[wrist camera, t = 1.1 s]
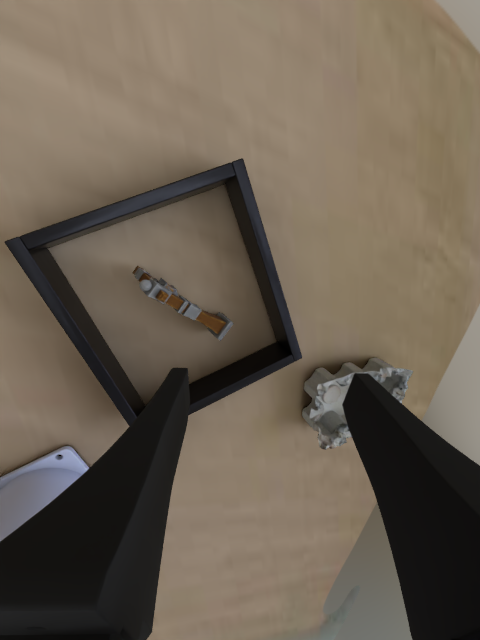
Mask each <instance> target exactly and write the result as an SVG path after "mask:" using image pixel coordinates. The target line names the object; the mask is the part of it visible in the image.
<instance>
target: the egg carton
mask: <svg viewBox="0 0 480 640" xmlns="http://www.w3.org/2000/svg"><path fill="white" fill-rule="evenodd" d="M354 373H368V374H369V375H371V376H372V377H373V378H374V379H375V380H376V381H377V382H378V383H380V384H381V385H382V386H383V387H384V388H385V389H386V390H387V391H388V392H389V393H390V394H392V395H393V396H394V397H395V398H396V399H397V400H398V401H399V402H400V403H401V404H402V402H401V401H402V399H404V397H405V391H406V390H407V389H408V386H407V381H408V379H409V378H410V376H411V375H412V373H413V371H412V370H407V369H400V368H394V367H393V366H391V365H390V364H388V363H386V362H384V361H383V360H381V359H378V358H371V359H369V361H368V363H367V364H366V365H365V367H364V368H363V369H360V368H359V367H357V366H356V365H354V364H353V363H351V362H347V363H344V364H343V365H342V368H341V370H339V371H338V372H337V373H336V374H334V375H332V374H331V373H330V372H328V371H327V370H326V369H325V368H318V369H316V370H315V372H314V373H313V375H312V376H311V378H309V379H308V380H307V381H306V382H305V385H304V390H305V391H306V392H307V393H308V394H309V395H310V396H311V397H312V402H311V403H310V405H309V406H308V407H306V408H304V409H303V413H302V417H303V418H304V419H305V420H306V421H307V423H308V424H309V425H310V426H311V427H312V428H313V429H314V430H315V431H318V432H319V434H318V440H319V446H320V447H321V448H322V449H325V450H326V449H327V448H331V449H332V448H335V447H336V446H341V445H342V444H344V443H347V441H346V438H349V437H352V436H351V433H350V431H349V428H348V425H347V421H346V418H345V414H344V410H343V406H342V404H343V401H344V398H345V396H346V393H347V391H348V388H349V386H350V383H351V381H352V378H353V376H354Z"/></svg>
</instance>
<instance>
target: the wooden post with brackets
mask: <svg viewBox="0 0 480 640" xmlns="http://www.w3.org/2000/svg"><path fill="white" fill-rule="evenodd" d="M133 274H134V275H135V278H136V279H137V280H138V281H140V288H141V290H142V291H143V292H144V293H145V294H146V295H147V296H148V297H152V298H153V299H155V300H157V301H159V302H161V303H162V304H163V305H164V304H165V303H166V304H168V305H170V306H172V307H173V308H174V309H175V310H176V311H177V312H178V313H180V314H182V315H183V316H187V317H189V318H191V319H192V320H194V321H195V319H196V320H198V321H199V322H201V323H203V324H204V325H206V326H207V327H208V328H207V329H208V330H209V331H210V332H211V333H212V334H213V335H214V336H215V337H216V338H217V339H219V340H220V341H221V340H222V338H223V337H224V336H225V334H226V333H227V332H228V330H229V329H230V328H231V326H232V325H233V322H232V321H230V320H229V319H228V318H227V317H226V316H225V315H224V314H222V313H220V312H219V313H218V314H217V315H213V314H210V313H208V312H205V311H203V310H201V309H200V308H199V307H198V306H197V305H195V304H192V303H191V302H189V301H188V300H187V299H186V298H184V297H182V296H179V297H178V296H177V295H178V293H177V290H176V289H175V288H174V287H173V286H172V285H168V284H167V283H166V282H165V281H164V280H163V279H162V278H161V279H160V280H159V281H157V280H156V279H154V280H153V279H152V278H151V277H152V276H151V275H150V274H149V273H148V272H146V271H144V269H142V268H140V267H139V266H137V267H136V268H135V270H134V271H133Z"/></svg>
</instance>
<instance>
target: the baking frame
mask: <svg viewBox="0 0 480 640" xmlns="http://www.w3.org/2000/svg"><path fill="white" fill-rule="evenodd" d="M224 184H225V185H226V188H227V191H228V194H229V197H230V200H231V203H232V206H233V209H234V212H235V215H236V218H237V221H238V224H239V227H240V230H241V233H242V236H243V239H244V242H245V245H246V248H247V251H248V254H249V258H250V261H251V264H252V267H253V270H254V273H255V276H256V279H257V282H258V285H259V288H260V291H261V294H262V297H263V300H264V303H265V306H266V309H267V312H268V315H269V318H270V321H271V324H272V327H273V330H274V333H275V336H276V339H277V342H276V343H274V344H272V345H270V346H268V347H265V348H263V349H261V350H259V351H257V352H255V353H253V354H251V355H249V356H247V357H245V358H243V359H241V360H239V361H237V362H234V363H232V364H230V365H228V366H226V367H224V368H222V369H220V370H218V371H216V372H214V373H212V374H210V375H208V376H206V377H203V378H201V379H199V380H197V381H195V382H193V383H191V384H189V392H190V406H189V414H188V415H190V414H192V413H194V412H196V411H198V410H200V409H202V408H204V407H206V406H208V405H210V404H212V403H214V402H216V401H218V400H220V399H222V398H224V397H226V396H228V395H230V394H232V393H234V392H236V391H238V390H240V389H242V388H244V387H246V386H248V385H249V384H251V383H253V382H255V381H257V380H259V379H261V378H263V377H265V376H267V375H269V374H271V373H273V372H275V371H277V370H279V369H281V368H283V367H285V366H287V365H289V364H291V363H293V362H294V361H297V360H299V359H301V358H302V355H301V352H300V348H299V345H298V342H297V338H296V335H295V332H294V328H293V325H292V321H291V318H290V315H289V311H288V308H287V305H286V301H285V298H284V295H283V291H282V288H281V285H280V281H279V278H278V274H277V271H276V268H275V264H274V261H273V258H272V254H271V251H270V248H269V244H268V241H267V238H266V234H265V231H264V227H263V224H262V221H261V217H260V214H259V211H258V207H257V204H256V201H255V197H254V194H253V191H252V187H251V184H250V180H249V177H248V174H247V170H246V167H245V164H244V160H243V159H239V160H236V161H233V162H232V163H228V164H225V165H222V166H219V167H216V168H213V169H210V170H208V171H205V172H202V173H199V174H196V175H193V176H190V177H188V178H185V179H182V180H179V181H176V182H173V183H170V184H167V185H165V186H162V187H159V188H156V189H153V190H150V191H147V192H145V193H142V194H139V195H136V196H133V197H130V198H127V199H125V200H122V201H119V202H116V203H113V204H110V205H107V206H105V207H102V208H99V209H96V210H93V211H90V212H87V213H85V214H82V215H79V216H76V217H73V218H70V219H67V220H65V221H62V222H59V223H56V224H53V225H50V226H47V227H45V228H42V229H39V230H36V231H33V232H30V233H27V234H25V235H22V236H20V237H16V238H13V239H10V240H7V241H5V244H6V245H7V247H8V248H9V250H10V251H11V253H12V254H13V255H14V257H15V258H16V260H17V261H18V263H19V264H20V266H21V267H22V269H23V270H24V272H25V273H26V275H27V276H28V278H29V279H30V281H31V282H32V283H33V285H34V286H35V288H36V289H37V291H38V292H39V294H40V295H41V297H42V298H43V300H44V301H45V303H46V304H47V306H48V307H49V308H50V310H51V311H52V313H53V314H54V316H55V317H56V319H57V320H58V322H59V323H60V325H61V326H62V328H63V329H64V331H65V332H66V334H67V335H68V336H69V338H70V339H71V341H72V342H73V344H74V345H75V347H76V348H77V350H78V351H79V353H80V354H81V356H82V357H83V359H84V360H85V361H86V363H87V364H88V366H89V367H90V369H91V370H92V372H93V373H94V375H95V376H96V378H97V379H98V381H99V382H100V384H101V385H102V387H103V388H104V389H105V391H106V392H107V394H108V395H109V397H110V398H111V400H112V401H113V403H114V404H115V406H116V407H117V409H118V410H119V412H120V413H121V414H122V416H123V417H124V419H125V420H126V422H127V423H128V425H129V426H130V425H131V424H132V423H133V422H134V421H135V419H136V418H137V417H138V416H139V415H140V413H141V412H142V411H143V410H144V408H145V407H146V406H147V405H146V406H145V404H144V403H143V401H142V400H141V398H140V396H139V395H138V393H137V392H136V390H135V388H134V387H133V385H132V383H131V382H130V380H129V379H128V377H127V375H126V374H125V372H124V371H123V369H122V367H121V366H120V364H119V363H118V361H117V359H116V358H115V356H114V355H113V353H112V351H111V350H110V348H109V347H108V345H107V343H106V342H105V340H104V339H103V337H102V335H101V334H100V332H99V330H98V329H97V327H96V326H95V324H94V322H93V321H92V319H91V318H90V316H89V314H88V313H87V311H86V310H85V308H84V306H83V305H82V303H81V302H80V300H79V298H78V297H77V295H76V294H75V292H74V290H73V289H72V287H71V286H70V284H69V282H68V281H67V279H66V277H65V276H64V274H63V273H62V271H61V269H60V268H59V266H58V265H57V263H56V261H55V260H54V258H53V257H52V255H51V253H50V252H49V250H48V249H47V248H50V247H53V246H55V245H58V244H61V243H64V242H66V241H69V240H72V239H75V238H77V237H80V236H83V235H86V234H89V233H91V232H94V231H97V230H100V229H102V228H105V227H108V226H111V225H113V224H116V223H119V222H122V221H124V220H127V219H130V218H133V217H135V216H138V215H141V214H144V213H146V212H149V211H152V210H155V209H157V208H160V207H163V206H166V205H168V204H171V203H174V202H177V201H179V200H182V199H185V198H188V197H190V196H193V195H196V194H199V193H201V192H204V191H207V190H210V189H213V188H215V187H218V186H221V185H224Z"/></svg>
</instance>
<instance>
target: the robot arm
mask: <svg viewBox="0 0 480 640" xmlns="http://www.w3.org/2000/svg"><path fill="white" fill-rule="evenodd" d="M189 406H190V392H189V378H188V368H172V369H171V370H170V372H169V374H168V375H167V377H166V379H165V380H164V382H163V383H162V385H161V386H160V388H159V389H158V391H157V392H156V393H155V395H154V396H153V398H152V399H151V400H150V402H149V403H148V404H147V406H146V407H145V408H144V410H143V411H142V412H141V413H140V415H139V416H138V417H137V418H136V419H135V421H134V422H133V423H132V424H131V425H130V427H129V428H128V429H127V430H126V431H125V432H124V434H123V435H122V436H121V437H120V438H119V439H118V440H117V441H116V442H115V443H114V444H113V445H112V446H111V447H110V449H109V450H108V451H107V452H106V453H105V454H104V455H103V456H102V457H100V458H99V459H98V460H97V461H96V462H95V463H94V464H93V465H92V466H91V467H90V468H89V467H88V466H87V465H86V464H85V462H84V461H83V460H82V459H81V458H80V456H79V455H78V454H77V453H76V451H75V450H74V449H73V448H72V447H70V446H64V447H62V448H60V449H58V450H56V451H53V452H51V453H49V454H47V455H45V456H43V457H41V458H39V459H37V460H35V461H33V462H31V463H29V464H27V465H25V466H23V467H20V468H18V469H16V470H14V471H12V472H10V473H8V474H6V475H4V476H2V477H0V640H146V639H147V638H148V637H149V635H150V634H151V633H152V626H153V618H154V610H155V602H156V594H157V586H158V579H159V571H160V564H161V557H162V550H163V543H164V536H165V529H166V522H167V516H168V509H169V503H170V496H171V490H172V485H173V480H174V476H175V472H176V468H177V463H178V459H179V455H180V451H181V447H182V443H183V439H184V435H185V431H186V426H187V421H188V414H189ZM342 406H343V410H344V414H345V418H346V421H347V425H348V428H349V431H350V433H351V436H352V438H353V441H354V443H355V446H356V448H357V450H358V453H359V455H360V458H361V460H362V462H363V465H364V467H365V470H366V472H367V474H368V477H369V479H370V482H371V485H372V487H373V490H374V493H375V496H376V499H377V502H378V506H379V509H380V512H381V515H382V518H383V522H384V525H385V529H386V532H387V536H388V539H389V543H390V547H391V550H392V554H393V558H394V562H395V566H396V570H397V574H398V577H399V582H400V586H401V591H402V595H403V599H404V604H405V608H406V612H407V617H408V622H409V627H410V632H411V636H412V639H413V640H480V466H479V465H478V464H477V463H475V462H474V461H472V460H471V459H469V458H468V457H467V456H465V455H464V454H463V453H461V452H460V451H458V450H457V449H456V448H454V447H453V446H452V445H450V444H449V443H448V442H446V441H445V440H444V439H443V438H441V437H440V436H439V435H438V434H436V433H435V432H434V431H433V430H431V429H430V428H429V427H428V426H426V425H425V424H424V423H423V422H422V421H421V420H420V419H418V418H417V417H416V416H415V415H414V414H413V413H411V412H410V411H409V410H408V409H407V408H406V407H405V406H404V405H402V404H401V403H400V402H399V401H398V400H397V399H396V398H395V397H394V396H393V395H392V394H390V393H389V392H388V391H387V390H386V389H385V388H384V387H383V386H382V385H381V384H380V383H378V382H377V381H376V380H375V379H374V378H373V377H372V376H371V375H369V374H368V373H354V376H353V378H352V381H351V383H350V386H349V388H348V391H347V393H346V396H345V398H344V401H343V404H342ZM58 455H62V456H58Z"/></svg>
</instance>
